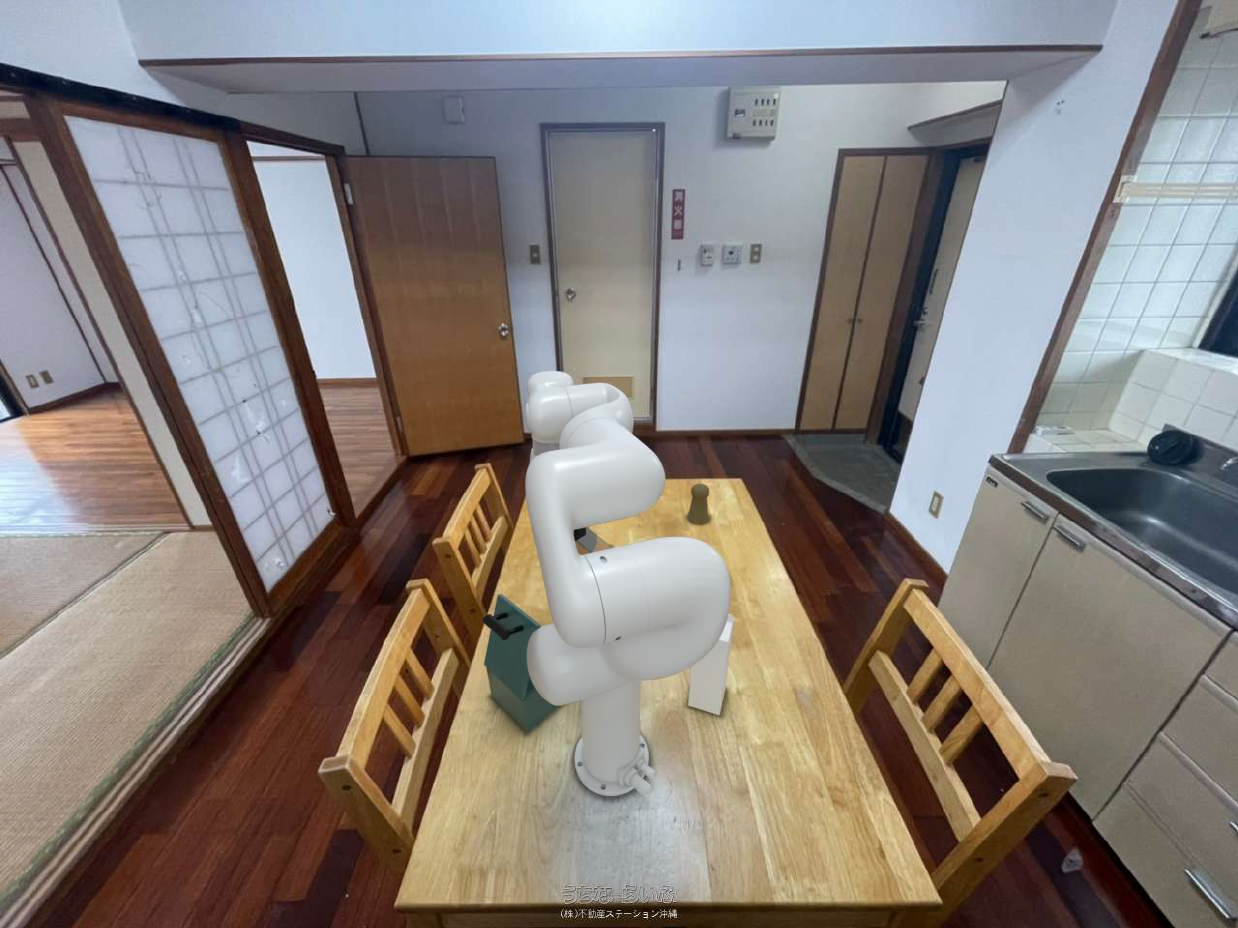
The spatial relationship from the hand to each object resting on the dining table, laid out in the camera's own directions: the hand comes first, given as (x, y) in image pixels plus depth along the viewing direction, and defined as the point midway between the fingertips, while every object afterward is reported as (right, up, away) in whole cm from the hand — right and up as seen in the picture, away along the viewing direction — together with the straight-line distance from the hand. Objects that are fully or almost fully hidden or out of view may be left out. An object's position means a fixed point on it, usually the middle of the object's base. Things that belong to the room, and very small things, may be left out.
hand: (561, 527), depth 96 cm
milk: (+28, -33, +2) cm, 43 cm away
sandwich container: (+1, -12, +42) cm, 44 cm away
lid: (-8, -20, -6) cm, 22 cm away
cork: (+34, -4, +56) cm, 66 cm away
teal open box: (-5, -32, +4) cm, 33 cm away
